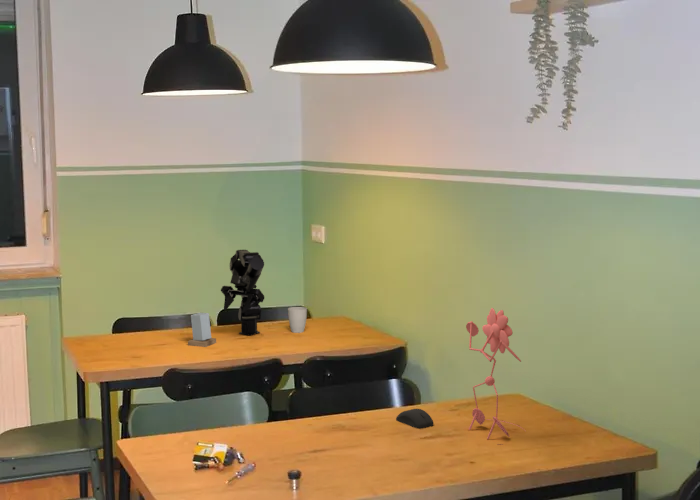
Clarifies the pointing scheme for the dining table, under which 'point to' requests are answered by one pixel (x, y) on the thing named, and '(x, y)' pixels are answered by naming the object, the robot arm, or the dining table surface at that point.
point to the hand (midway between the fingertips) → (233, 310)
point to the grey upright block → (201, 326)
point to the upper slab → (202, 342)
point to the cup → (297, 318)
